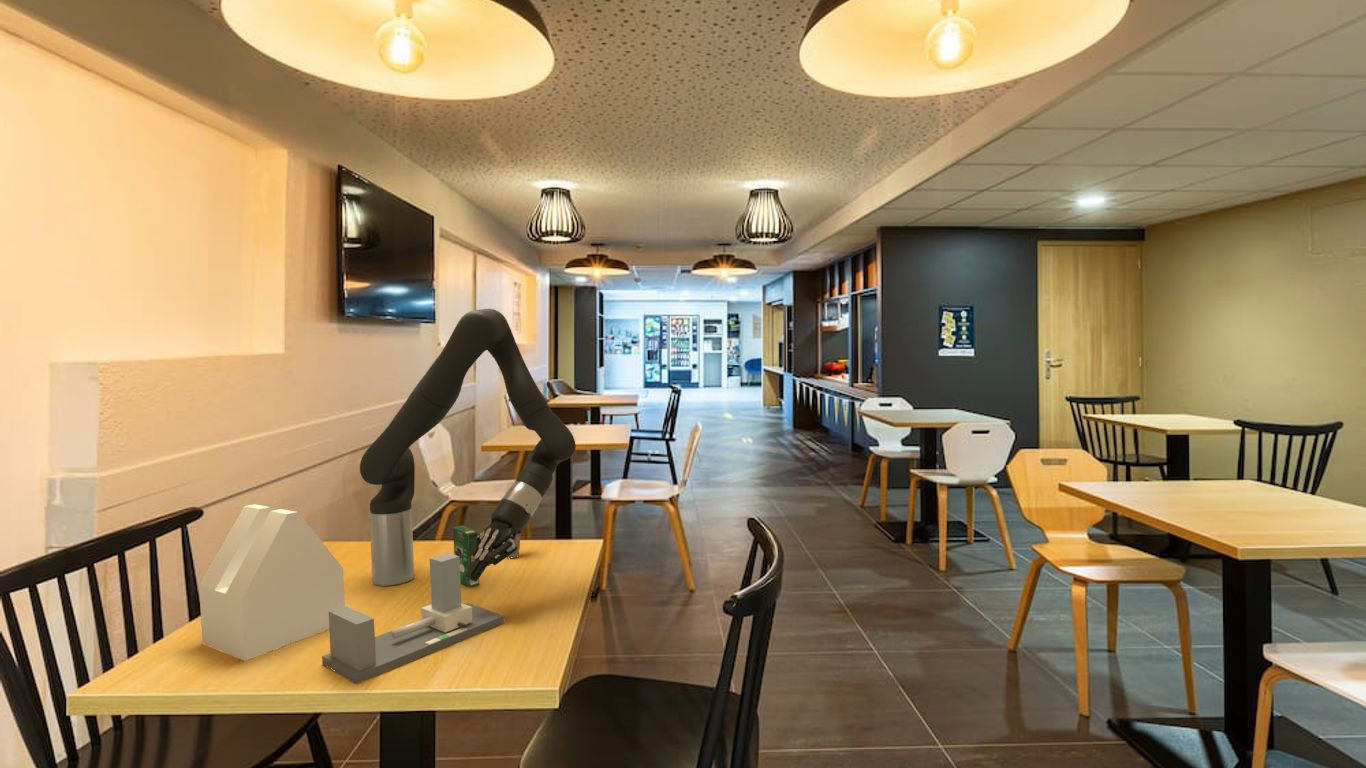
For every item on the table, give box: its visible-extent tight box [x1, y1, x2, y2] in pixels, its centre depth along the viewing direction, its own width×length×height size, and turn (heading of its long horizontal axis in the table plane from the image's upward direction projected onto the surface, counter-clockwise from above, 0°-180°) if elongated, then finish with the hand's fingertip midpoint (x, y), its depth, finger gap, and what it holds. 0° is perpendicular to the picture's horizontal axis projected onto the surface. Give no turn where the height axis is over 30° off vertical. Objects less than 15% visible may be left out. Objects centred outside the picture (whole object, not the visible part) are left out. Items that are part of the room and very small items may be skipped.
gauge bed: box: [321, 602, 505, 685], centre depth 125 cm, size 12×30×10 cm, turn 143°
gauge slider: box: [391, 552, 472, 639], centre depth 126 cm, size 10×14×13 cm
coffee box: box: [452, 525, 480, 588], centre depth 157 cm, size 8×3×13 cm, turn 44°
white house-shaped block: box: [198, 503, 346, 662], centre depth 130 cm, size 19×15×25 cm
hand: (470, 578), depth 134 cm, fingers closed
